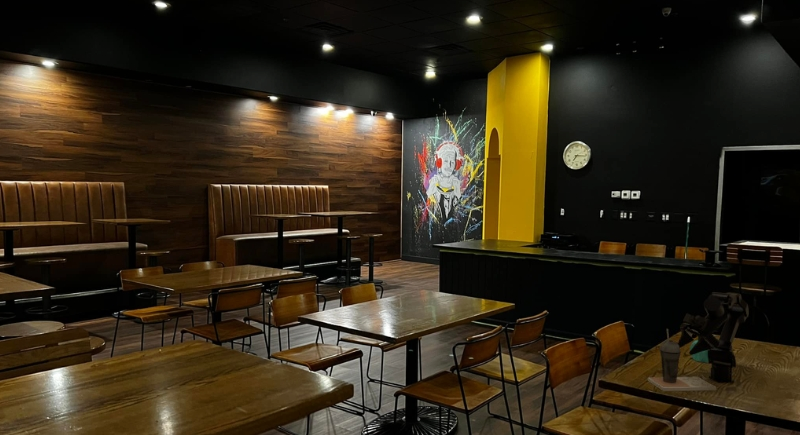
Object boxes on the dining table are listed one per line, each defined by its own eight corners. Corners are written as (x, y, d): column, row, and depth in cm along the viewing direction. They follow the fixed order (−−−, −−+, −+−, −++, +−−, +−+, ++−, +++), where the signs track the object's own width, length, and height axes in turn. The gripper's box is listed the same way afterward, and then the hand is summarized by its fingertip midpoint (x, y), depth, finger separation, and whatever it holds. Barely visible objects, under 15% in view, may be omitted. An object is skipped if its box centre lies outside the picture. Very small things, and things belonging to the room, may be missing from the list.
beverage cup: (682, 384, 215) (683, 331, 215) (661, 383, 217) (662, 330, 216) (677, 378, 223) (678, 327, 222) (657, 377, 224) (657, 326, 223)
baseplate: (697, 379, 226) (697, 374, 226) (716, 390, 214) (716, 384, 214) (647, 380, 225) (647, 375, 225) (663, 391, 213) (663, 385, 213)
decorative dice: (689, 358, 256) (689, 340, 256) (704, 357, 258) (704, 339, 258) (703, 363, 248) (703, 345, 248) (718, 362, 250) (718, 343, 250)
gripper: (685, 302, 228) (657, 330, 228) (712, 311, 210) (681, 342, 210) (704, 321, 229) (676, 349, 229) (733, 333, 210) (702, 363, 210)
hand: (683, 350), depth 220 cm, fingers open, 9 cm apart
